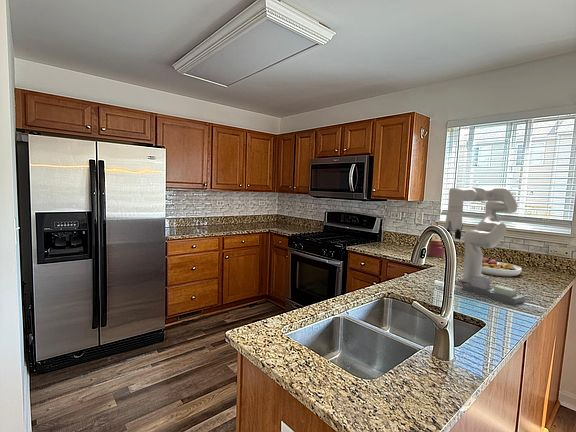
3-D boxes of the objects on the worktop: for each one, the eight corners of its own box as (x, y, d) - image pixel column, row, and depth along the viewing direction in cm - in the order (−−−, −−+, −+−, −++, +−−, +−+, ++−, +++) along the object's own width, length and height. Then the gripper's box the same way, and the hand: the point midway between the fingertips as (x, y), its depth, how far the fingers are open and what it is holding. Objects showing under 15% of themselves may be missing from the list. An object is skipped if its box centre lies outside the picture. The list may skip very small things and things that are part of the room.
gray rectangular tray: (472, 287, 179) (472, 282, 179) (524, 302, 157) (524, 296, 156) (462, 289, 175) (462, 284, 174) (514, 305, 152) (515, 298, 152)
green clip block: (498, 296, 165) (498, 285, 165) (515, 301, 158) (516, 289, 158) (493, 297, 163) (494, 286, 162) (510, 302, 156) (511, 290, 155)
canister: (435, 258, 262) (437, 237, 261) (424, 255, 274) (425, 235, 273) (447, 257, 267) (448, 236, 265) (435, 254, 279) (436, 234, 278)
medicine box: (489, 293, 169) (491, 278, 168) (485, 295, 167) (486, 279, 166) (475, 289, 176) (476, 274, 175) (470, 290, 173) (471, 275, 173)
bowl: (532, 278, 205) (533, 266, 205) (486, 277, 206) (487, 265, 205) (501, 267, 235) (502, 257, 235) (461, 266, 235) (462, 256, 235)
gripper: (456, 209, 187) (454, 237, 188) (440, 209, 178) (438, 239, 179) (469, 210, 181) (467, 239, 182) (453, 210, 171) (451, 241, 173)
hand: (453, 239), depth 180 cm, fingers open, 9 cm apart
